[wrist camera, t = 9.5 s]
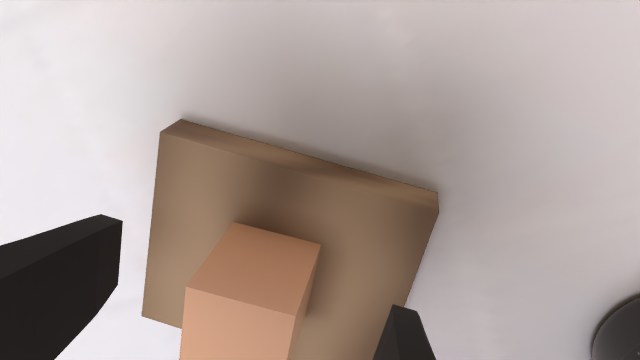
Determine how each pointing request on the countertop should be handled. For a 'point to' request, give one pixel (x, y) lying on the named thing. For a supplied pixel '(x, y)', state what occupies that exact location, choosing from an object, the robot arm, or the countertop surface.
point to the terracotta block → (249, 297)
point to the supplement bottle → (619, 335)
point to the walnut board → (287, 231)
